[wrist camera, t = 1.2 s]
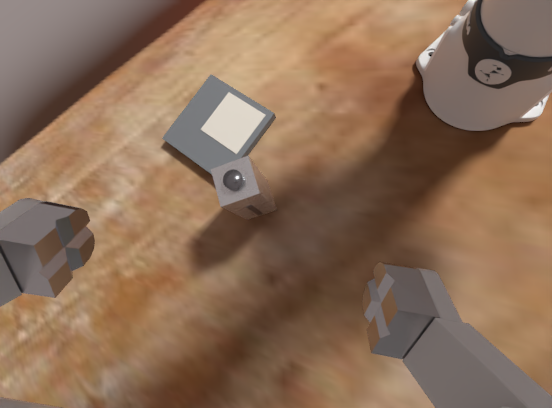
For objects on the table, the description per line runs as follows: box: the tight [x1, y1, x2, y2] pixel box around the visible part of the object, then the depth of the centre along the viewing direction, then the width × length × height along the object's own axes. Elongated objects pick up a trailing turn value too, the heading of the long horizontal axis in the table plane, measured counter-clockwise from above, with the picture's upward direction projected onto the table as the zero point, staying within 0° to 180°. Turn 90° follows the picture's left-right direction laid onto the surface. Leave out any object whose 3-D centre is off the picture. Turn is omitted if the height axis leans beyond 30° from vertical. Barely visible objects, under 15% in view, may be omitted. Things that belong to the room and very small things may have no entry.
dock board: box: [162, 75, 276, 174], centre depth 50 cm, size 14×14×2 cm
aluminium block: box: [211, 156, 277, 220], centre depth 41 cm, size 5×5×13 cm
